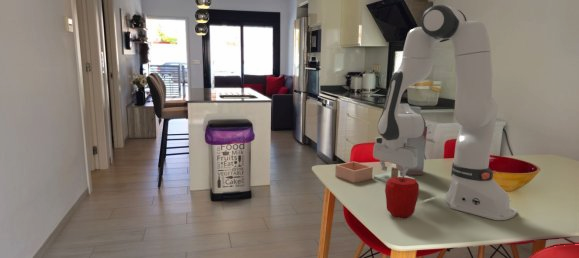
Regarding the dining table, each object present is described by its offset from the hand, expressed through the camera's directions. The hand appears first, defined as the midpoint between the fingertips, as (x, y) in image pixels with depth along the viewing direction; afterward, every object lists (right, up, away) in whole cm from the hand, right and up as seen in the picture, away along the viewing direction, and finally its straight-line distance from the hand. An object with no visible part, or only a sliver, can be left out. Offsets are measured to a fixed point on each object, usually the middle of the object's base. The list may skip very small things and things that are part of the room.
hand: (393, 173), depth 158 cm
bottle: (+11, -1, +15) cm, 19 cm away
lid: (+1, -3, +1) cm, 3 cm away
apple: (-7, -10, -35) cm, 37 cm away
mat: (+1, -3, +1) cm, 3 cm away
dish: (-16, -3, +3) cm, 17 cm away
